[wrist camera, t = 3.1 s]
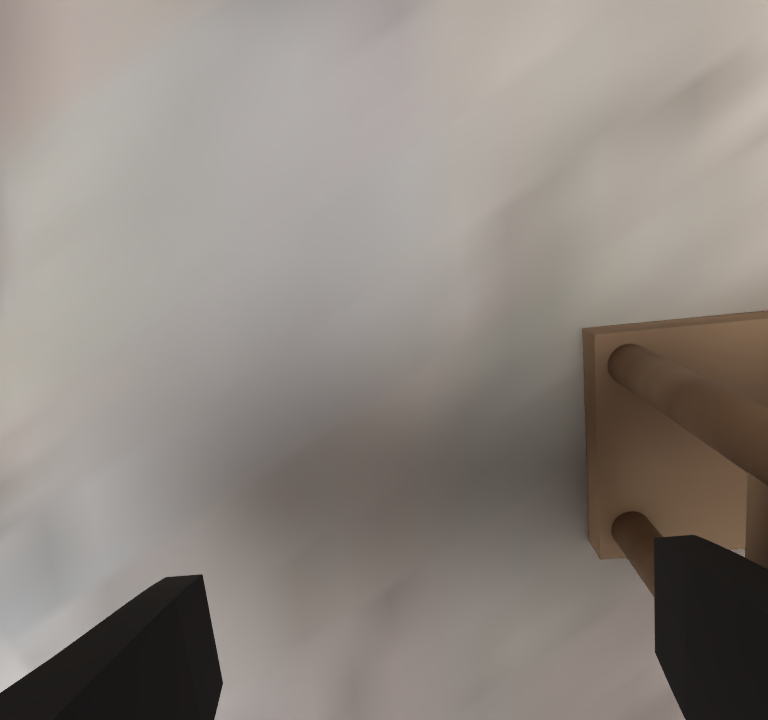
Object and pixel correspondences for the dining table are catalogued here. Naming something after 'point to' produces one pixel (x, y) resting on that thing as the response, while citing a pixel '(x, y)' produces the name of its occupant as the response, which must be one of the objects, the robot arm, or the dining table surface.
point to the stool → (677, 435)
